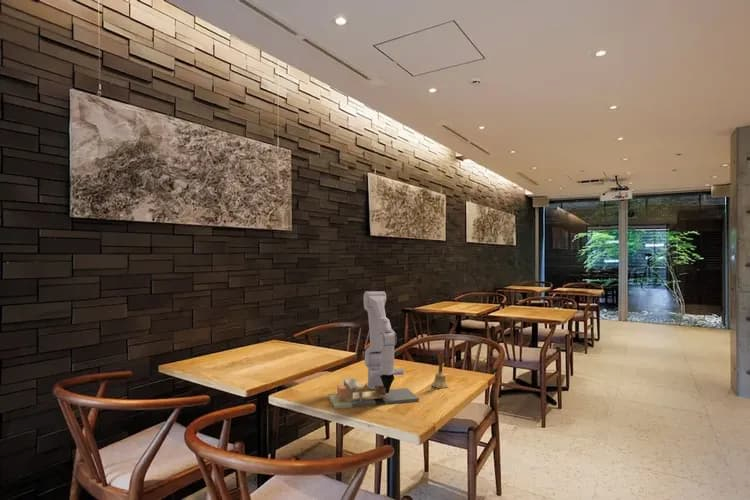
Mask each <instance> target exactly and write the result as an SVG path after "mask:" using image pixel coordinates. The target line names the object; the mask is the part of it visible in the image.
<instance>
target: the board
mask: <svg viewBox="0 0 750 500" xmlns="http://www.w3.org/2000/svg"><path fill="white" fill-rule="evenodd" d="M357 392H358V391H355V393H357ZM363 392H368V391H366V390H365V391H364V390H363ZM336 394H337V393H329V394H327V396H328V397H327V398H328V400H329V402H330V403H331V405H332V406H333V408H334V409H335V410H338V409H347V408H350V409H351V408H358V407H368V406H369V407H370V406H380V405H381V406H382V405H383V406H384V405H391V404H393V405H394V404H402V403H403V404H405V403H413V402H419V401H420V399H419V397H418V396H417V395H416V394H415V393H413V392H412V391H411V390H410V389H409V388H407V387H405V388H404V387H403V388H390V390H389V393H385V395H386V398H377V399H365V400H362V403H360V402H359V400H354V401H353V403H350V401H342V402H339V400H338V399H337V397H336Z"/></svg>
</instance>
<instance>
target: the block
mask: <svg viewBox="0 0 750 500" xmlns="http://www.w3.org/2000/svg"><path fill="white" fill-rule="evenodd" d="M336 390H337V391H336V392H337V393H336V394H337V396H338V397H339V399H341V398H350V388H349V387H348V386H347V385H344V384H342V385H341V384H339V385H337V387H336Z"/></svg>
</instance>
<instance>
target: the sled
mask: <svg viewBox="0 0 750 500" xmlns="http://www.w3.org/2000/svg"><path fill="white" fill-rule="evenodd" d="M356 392H357V393H353V401H354V400H359V391H356ZM385 393H386V388H385V387H384V386H383V385H375V389H374V390H372V391H371V390H369V391H367V392H364V391H362V400H365V399H377V398H386V395H385ZM335 394H336V397H337V399H338V400H339V402H342V401H350V398H341V399H339V397H338V396H337V393H335Z"/></svg>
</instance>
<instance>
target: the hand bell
mask: <svg viewBox="0 0 750 500" xmlns="http://www.w3.org/2000/svg"><path fill="white" fill-rule="evenodd" d="M437 357H438V358H437V362H438V372H437V373H435V377H434V380H433V381H432V383H431V384H430V385H431V387H432V386H433V387H432V388H435V387H436V389H441V388H444V389H447V388H446V387H448V386H449V384H448V382H447V379H446V375H445V373H443V364H444V359H445V358H444V357H445V356H444V353H443V351H439V354H438V356H437ZM449 387H450V386H449ZM449 387H448V388H449Z"/></svg>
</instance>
